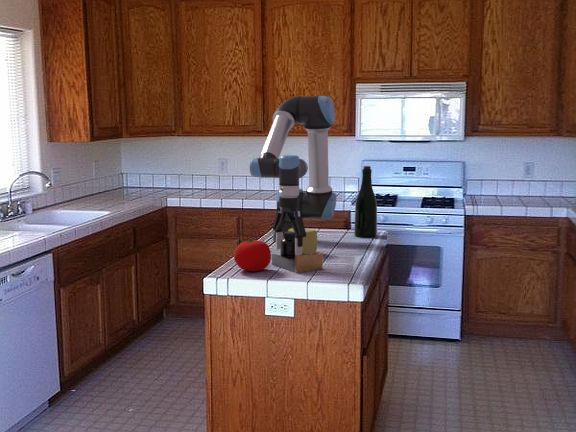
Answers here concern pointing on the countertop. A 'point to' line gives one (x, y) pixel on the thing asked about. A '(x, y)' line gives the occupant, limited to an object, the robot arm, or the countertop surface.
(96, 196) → the countertop surface
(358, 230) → the dark green wine bottle
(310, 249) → the cheese
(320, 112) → the robot arm
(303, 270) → the guide channel
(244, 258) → the tomato
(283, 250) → the supplement bottle
